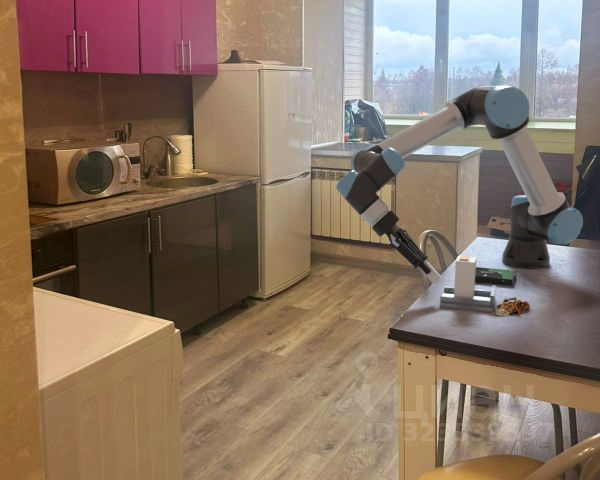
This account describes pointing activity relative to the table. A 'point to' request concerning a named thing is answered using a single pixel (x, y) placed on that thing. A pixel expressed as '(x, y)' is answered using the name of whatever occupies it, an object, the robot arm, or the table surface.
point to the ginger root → (510, 307)
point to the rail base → (469, 300)
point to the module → (465, 276)
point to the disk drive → (495, 276)
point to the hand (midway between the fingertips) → (437, 280)
